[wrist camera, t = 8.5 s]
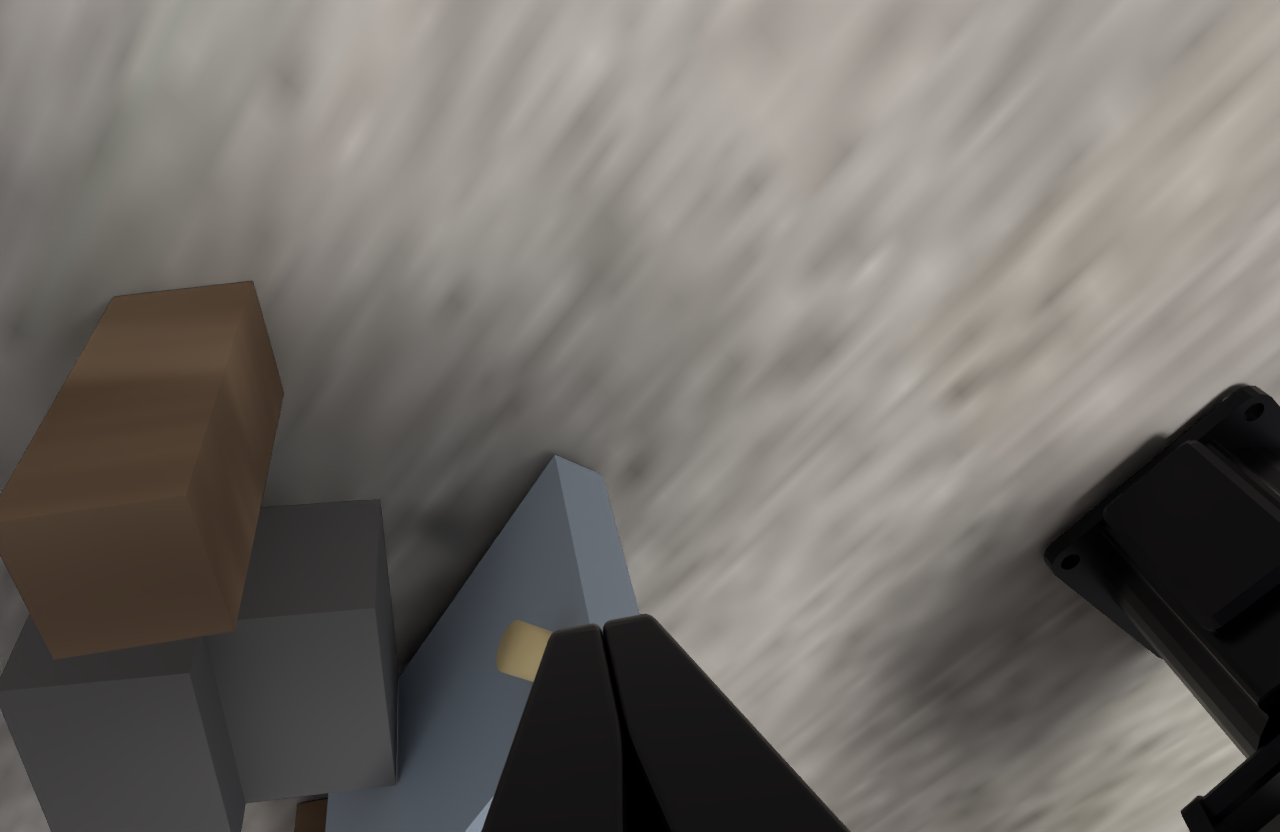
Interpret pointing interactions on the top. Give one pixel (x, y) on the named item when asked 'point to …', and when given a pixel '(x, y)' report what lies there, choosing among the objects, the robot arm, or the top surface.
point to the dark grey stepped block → (225, 693)
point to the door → (494, 657)
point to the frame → (149, 479)
